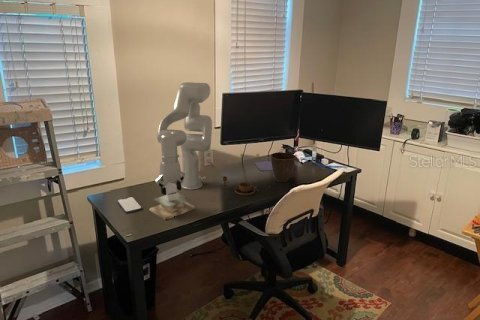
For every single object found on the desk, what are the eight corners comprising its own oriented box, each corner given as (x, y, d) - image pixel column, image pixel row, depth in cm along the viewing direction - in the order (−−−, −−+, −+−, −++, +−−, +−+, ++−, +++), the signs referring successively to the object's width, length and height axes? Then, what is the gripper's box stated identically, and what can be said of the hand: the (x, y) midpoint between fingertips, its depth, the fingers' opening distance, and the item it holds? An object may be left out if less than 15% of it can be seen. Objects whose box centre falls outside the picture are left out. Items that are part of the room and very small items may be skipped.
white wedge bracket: (156, 196, 179) (164, 180, 179) (173, 201, 185) (180, 185, 185) (160, 199, 176) (167, 182, 176) (176, 203, 182) (183, 188, 183)
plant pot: (264, 179, 226) (265, 154, 221) (282, 174, 235) (283, 150, 229) (281, 186, 215) (282, 161, 210) (298, 181, 223) (300, 156, 218)
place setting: (234, 198, 199) (234, 188, 197) (221, 186, 216) (221, 176, 214) (262, 193, 206) (263, 184, 204) (247, 181, 223) (247, 172, 221)
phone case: (143, 210, 184) (133, 199, 196) (142, 207, 183) (132, 196, 196) (125, 215, 179) (116, 202, 192) (125, 212, 179) (116, 200, 191)
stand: (179, 200, 195) (178, 190, 193) (195, 208, 185) (194, 198, 183) (149, 210, 183) (148, 199, 181) (164, 220, 173) (164, 208, 171)
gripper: (180, 153, 184) (181, 185, 189) (149, 160, 172) (152, 194, 178) (189, 157, 179) (190, 189, 184) (158, 164, 167) (160, 199, 173)
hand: (171, 191), depth 181 cm, fingers open, 8 cm apart
